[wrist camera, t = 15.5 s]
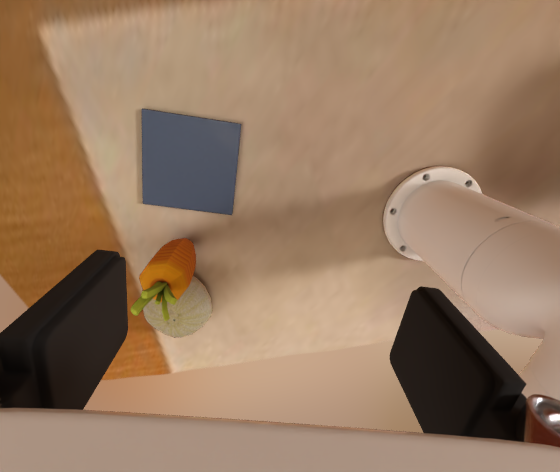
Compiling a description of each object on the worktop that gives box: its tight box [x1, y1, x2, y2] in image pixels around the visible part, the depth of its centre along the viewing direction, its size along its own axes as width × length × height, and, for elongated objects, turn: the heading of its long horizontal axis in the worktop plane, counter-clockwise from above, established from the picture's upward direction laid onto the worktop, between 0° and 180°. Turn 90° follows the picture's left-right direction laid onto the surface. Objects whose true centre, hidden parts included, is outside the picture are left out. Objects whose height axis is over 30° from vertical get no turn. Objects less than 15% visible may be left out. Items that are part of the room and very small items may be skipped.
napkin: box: [142, 109, 241, 215], centre depth 38 cm, size 11×11×1 cm
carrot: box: [131, 238, 196, 321], centre depth 35 cm, size 5×5×15 cm
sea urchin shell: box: [143, 276, 212, 338], centre depth 43 cm, size 9×8×8 cm
